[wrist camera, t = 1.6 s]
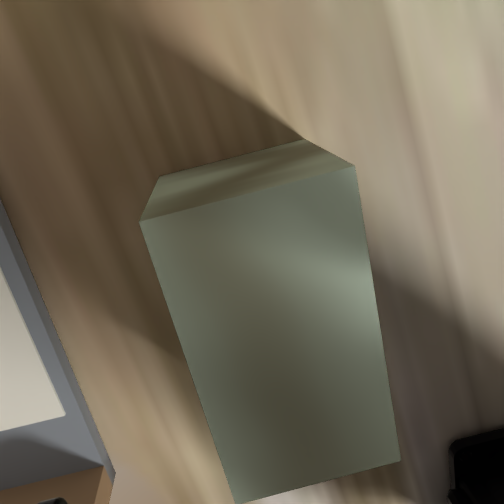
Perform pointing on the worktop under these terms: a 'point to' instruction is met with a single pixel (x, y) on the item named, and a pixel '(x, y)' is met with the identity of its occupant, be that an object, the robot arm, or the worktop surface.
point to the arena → (41, 399)
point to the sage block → (276, 315)
